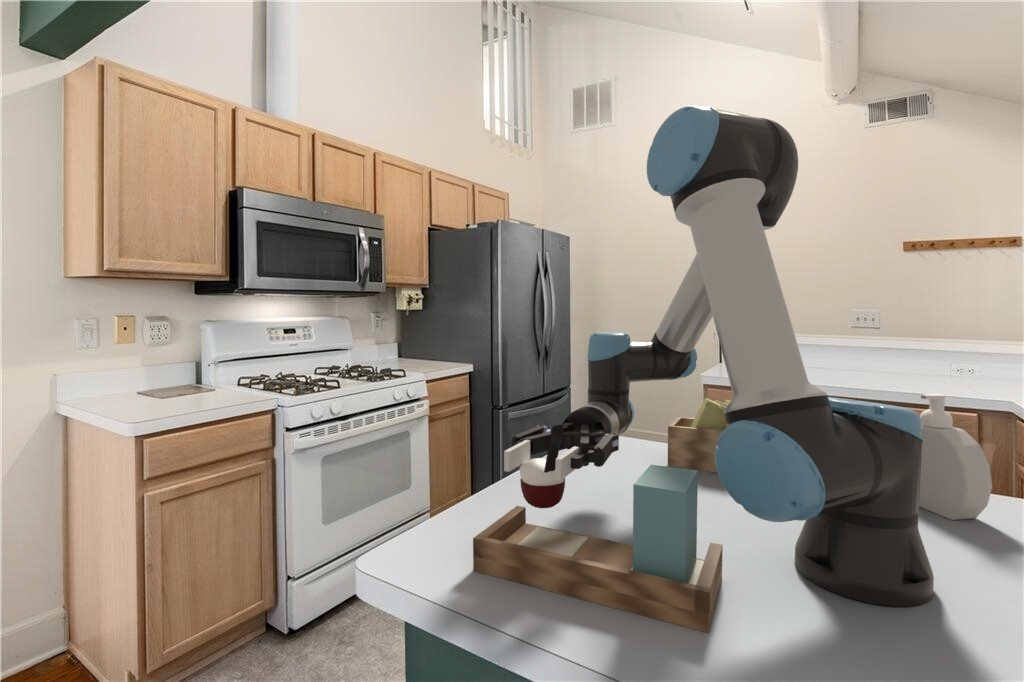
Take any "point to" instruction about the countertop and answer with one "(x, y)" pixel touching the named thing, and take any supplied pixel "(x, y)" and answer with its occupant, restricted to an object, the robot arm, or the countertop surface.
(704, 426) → the mechanical component
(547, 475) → the cocoa
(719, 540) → the countertop surface
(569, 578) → the tray
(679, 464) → the part holder
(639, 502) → the teal carton
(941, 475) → the soap bottle
